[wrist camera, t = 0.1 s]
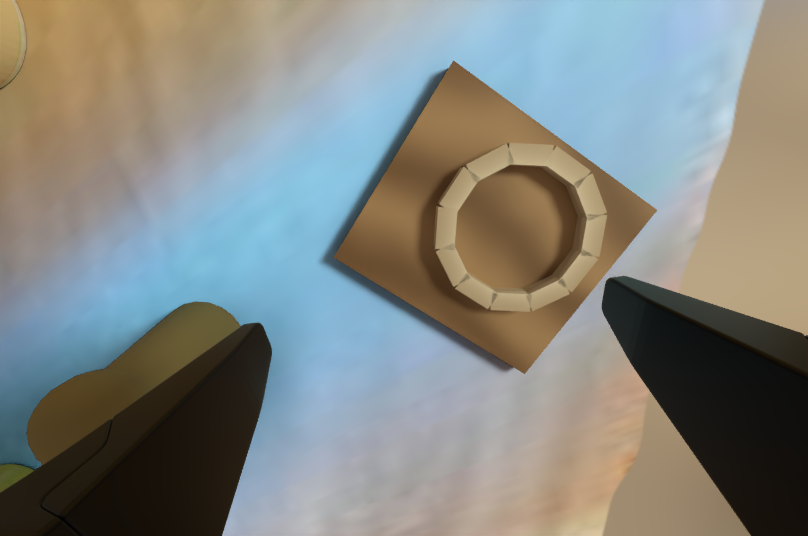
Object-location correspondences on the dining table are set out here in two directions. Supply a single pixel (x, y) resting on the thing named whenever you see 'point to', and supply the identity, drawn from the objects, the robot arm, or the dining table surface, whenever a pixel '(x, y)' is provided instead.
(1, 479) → the plant pot
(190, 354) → the olive brown pestle
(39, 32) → the dining table surface
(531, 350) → the ring board
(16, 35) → the white canister
